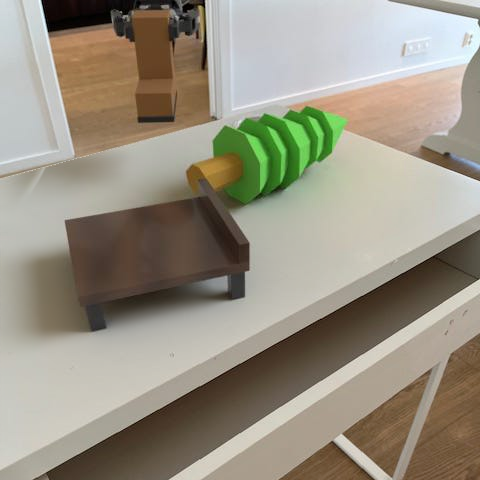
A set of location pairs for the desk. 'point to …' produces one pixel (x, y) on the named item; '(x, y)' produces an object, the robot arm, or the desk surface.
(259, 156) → the decorative tree
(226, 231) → the shoe shelf
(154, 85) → the boot
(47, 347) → the desk surface
